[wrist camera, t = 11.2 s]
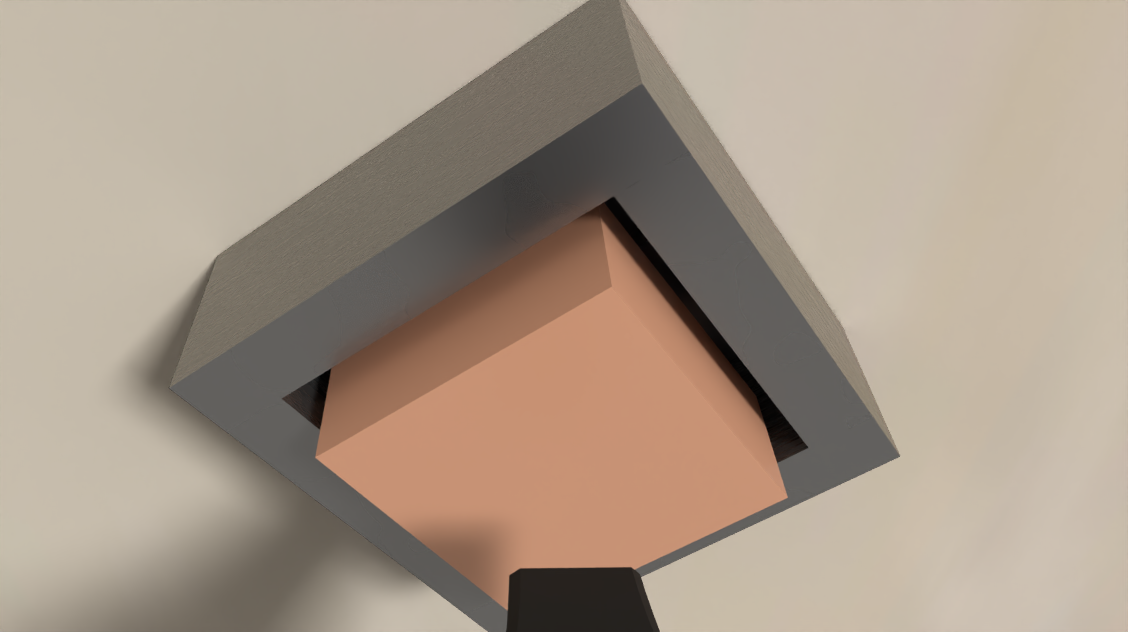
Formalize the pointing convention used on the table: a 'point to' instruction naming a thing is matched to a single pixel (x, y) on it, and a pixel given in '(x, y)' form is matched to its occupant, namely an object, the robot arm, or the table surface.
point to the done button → (552, 417)
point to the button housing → (505, 229)
